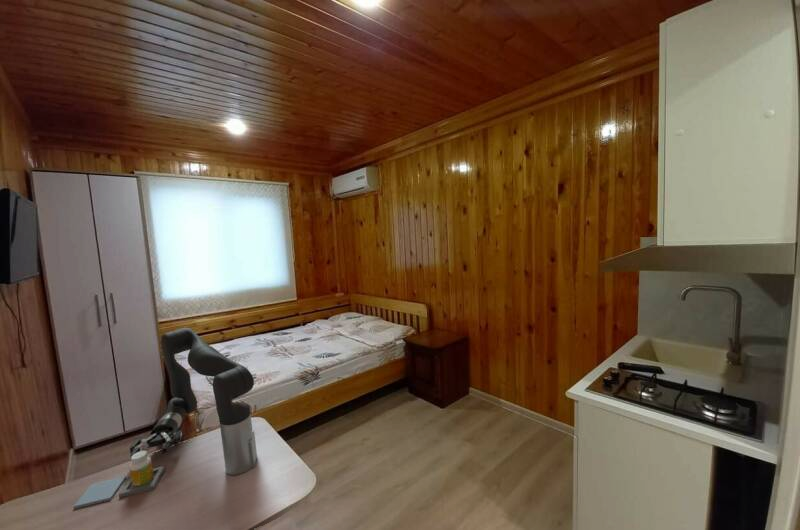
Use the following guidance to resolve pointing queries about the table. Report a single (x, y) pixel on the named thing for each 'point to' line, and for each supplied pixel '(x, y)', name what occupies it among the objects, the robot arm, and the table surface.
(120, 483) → the board
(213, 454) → the table surface
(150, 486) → the collar
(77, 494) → the table surface
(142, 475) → the supplement bottle
